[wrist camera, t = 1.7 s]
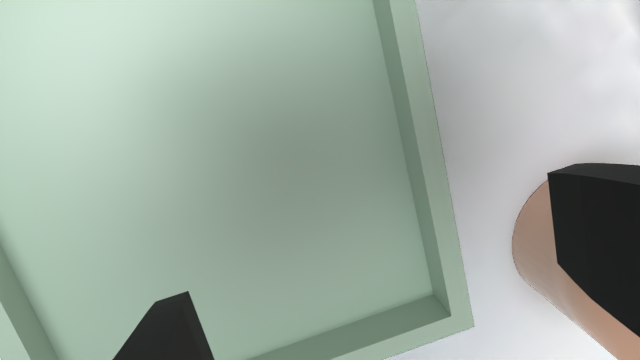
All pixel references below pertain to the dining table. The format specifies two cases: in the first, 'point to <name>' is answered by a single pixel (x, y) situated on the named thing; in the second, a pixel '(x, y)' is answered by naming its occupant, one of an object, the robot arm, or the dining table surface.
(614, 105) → the dining table surface
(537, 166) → the dining table surface
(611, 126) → the dining table surface
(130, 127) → the sage green tray
